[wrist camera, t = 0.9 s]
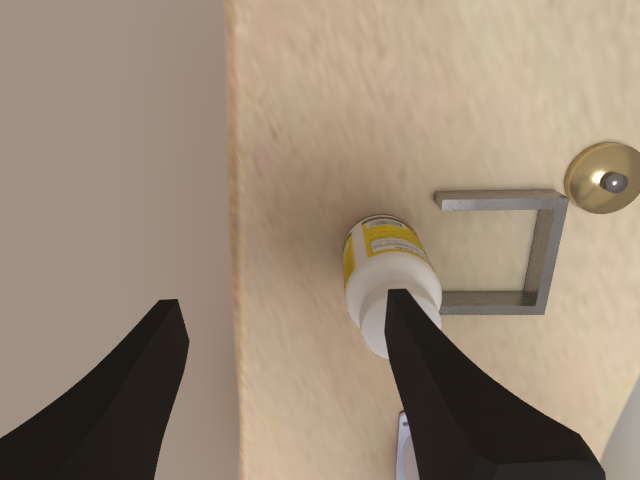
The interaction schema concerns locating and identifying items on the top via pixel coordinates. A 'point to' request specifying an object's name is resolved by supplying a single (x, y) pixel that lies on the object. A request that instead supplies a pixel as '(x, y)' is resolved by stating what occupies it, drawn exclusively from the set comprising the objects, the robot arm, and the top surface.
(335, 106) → the top surface
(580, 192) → the gold disc
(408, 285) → the supplement bottle
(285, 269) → the top surface
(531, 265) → the bracket
